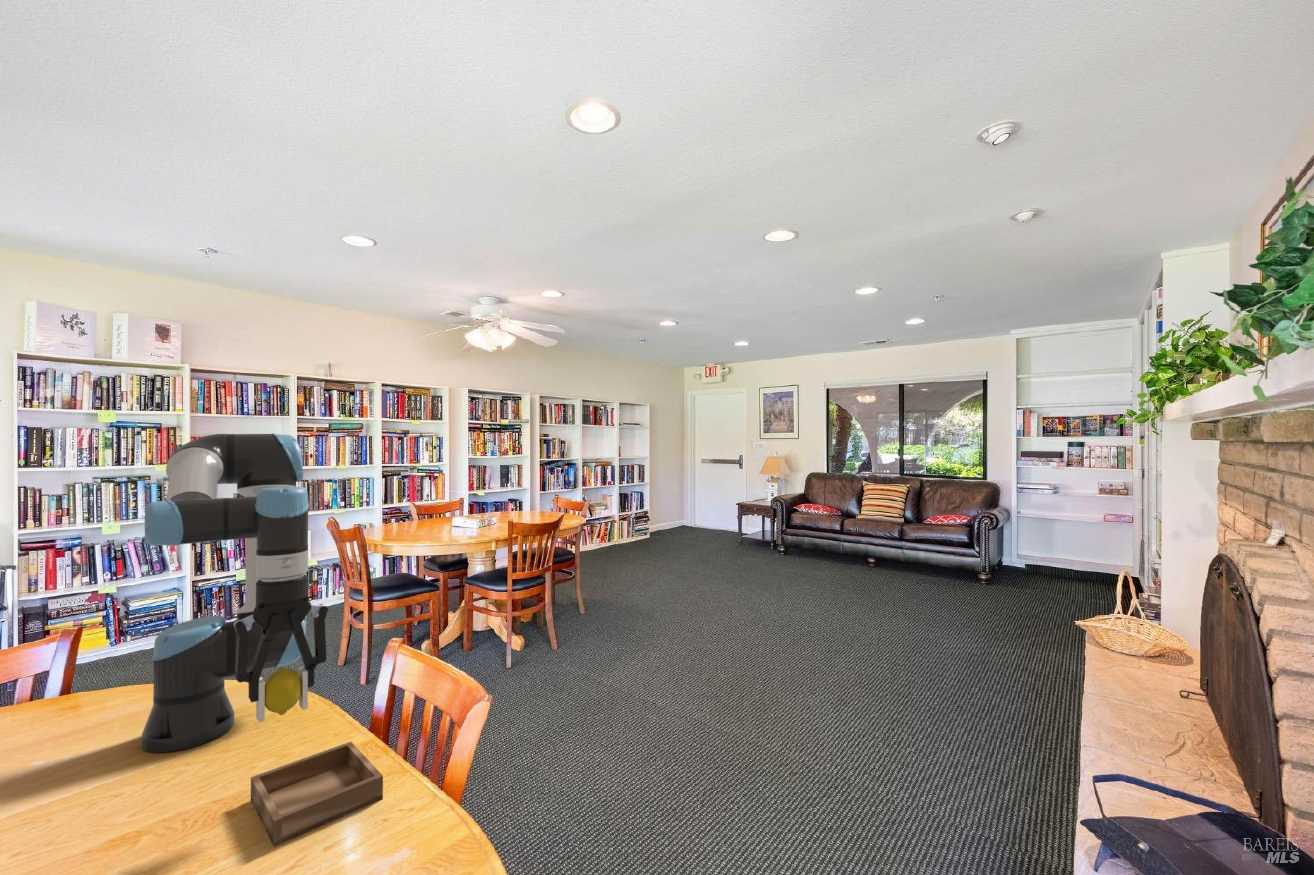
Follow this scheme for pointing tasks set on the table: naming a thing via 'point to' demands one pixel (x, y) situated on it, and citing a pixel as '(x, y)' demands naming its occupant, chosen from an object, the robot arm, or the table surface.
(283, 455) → the robot arm
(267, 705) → the lemon
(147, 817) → the table surface
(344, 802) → the walnut bin
